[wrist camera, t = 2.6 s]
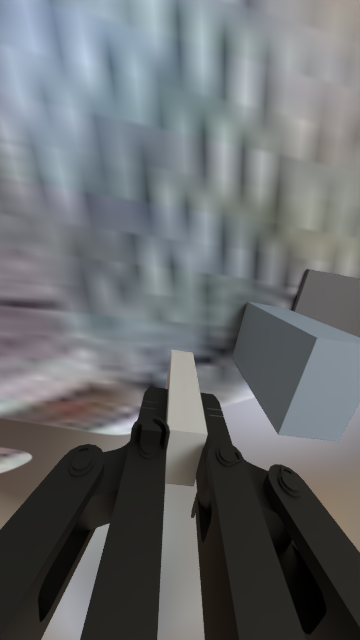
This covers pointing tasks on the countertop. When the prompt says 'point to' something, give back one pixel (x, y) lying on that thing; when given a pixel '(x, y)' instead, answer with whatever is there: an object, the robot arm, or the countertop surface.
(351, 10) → the countertop surface
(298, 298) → the mat
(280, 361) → the block
